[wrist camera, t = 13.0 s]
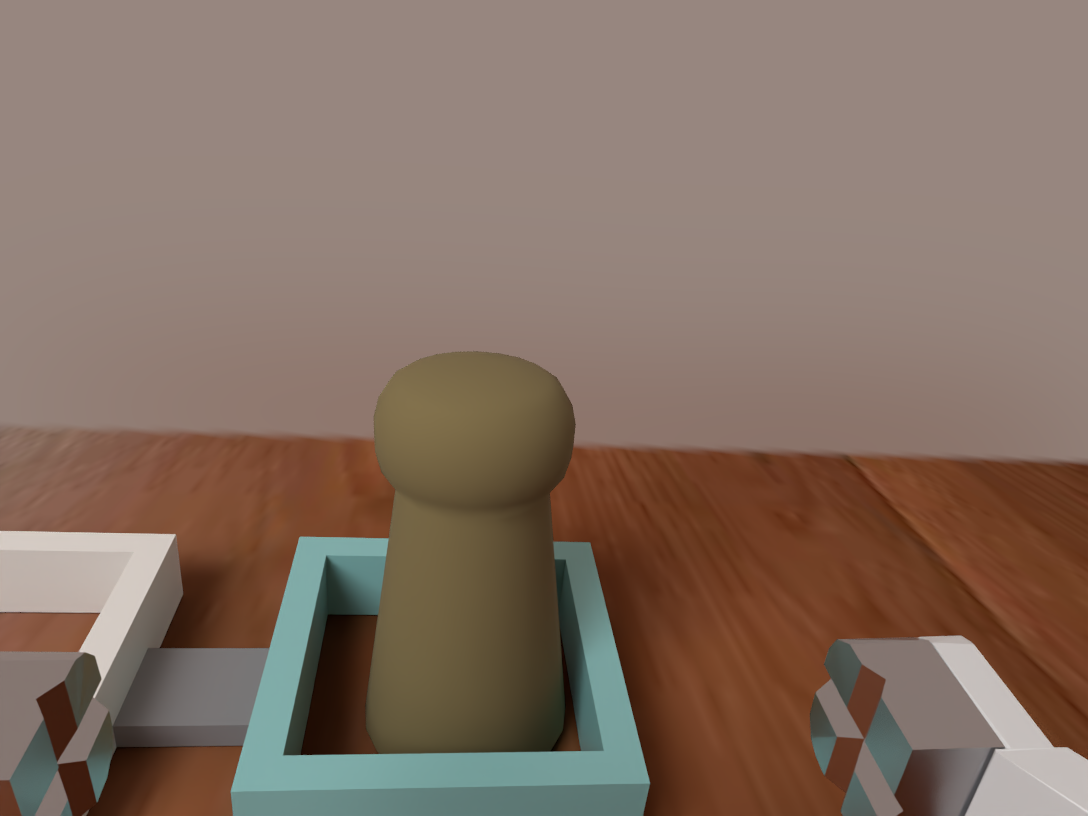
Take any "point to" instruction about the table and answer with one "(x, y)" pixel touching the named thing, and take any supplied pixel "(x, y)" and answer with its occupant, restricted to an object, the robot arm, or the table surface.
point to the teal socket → (435, 778)
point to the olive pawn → (469, 558)
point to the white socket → (134, 635)
